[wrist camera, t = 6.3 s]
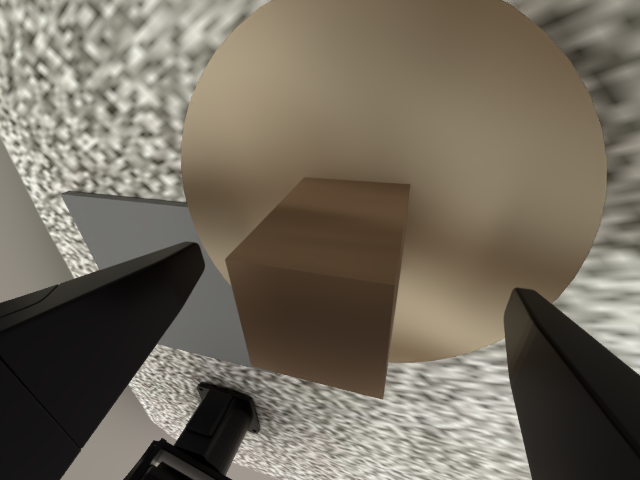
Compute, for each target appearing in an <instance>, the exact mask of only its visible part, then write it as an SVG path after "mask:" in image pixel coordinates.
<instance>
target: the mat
mask: <svg viewBox="0 0 640 480" xmlns="http://www.w3.org/2000/svg"><path fill="white" fill-rule="evenodd" d="M61 196H62V198H63V200H64V202H65V204H66V206H67V208H68V210H69V212H70V214H71V216H72V217H73V219H74V221H75V223H76V225H77V227H78V229H79V231H80V233H81V235H82V237H83V239H84V241H85V243H86V245H87V246H88V248H89V250H90V252H91V254H92V256H93V258H94V260H95V262H96V264H97V266H98V268H99V270H102V269H105V268H108V267H111V266H114V265H117V264H120V263H122V262H125V261H128V260H131V259H134V258H137V257H140V256H143V255H146V254H149V253H152V252H155V251H158V250H161V249H164V248H167V247H170V246H173V245H176V244H179V243H182V242H185V241H188V242H195V243H198V244H199V245H200V248H201V251H202V255H203V258H204V261H205V270H204V272H203V274H202V275H201V277H200V279H199V281H198V282H197V284H196V286H195V288H194V289H193V291H192V293H191V294H190V296H189V298H188V300H187V301H186V303H185V305H184V306H183V308H182V310H181V311H180V312H179V314H178V315H177V317H176V318H175V320H174V321H173V322H172V324H171V325H170V327H169V328H168V329H167V331H166V332H165V334H164V335H163V336H162V338H161V339H160V341H159V342H158V343H157V344H160V345H164V346H168V347H172V348H176V349H180V350H183V351H187V352H191V353H195V354H199V355H203V356H207V357H211V358H215V359H219V360H223V361H227V362H231V363H235V364H238V365H242V366H246V367H250V368H254V369H258V370H262V371H266V372H270V373H274V374H277V373H276V372H272V371H268V370H264V369H260V368H257V367H253V366H251V363H250V359H249V355H248V351H247V347H246V342H245V338H244V334H243V330H242V326H241V322H240V318H239V314H238V310H237V306H236V302H235V298H234V294H233V290H232V287H231V285H230V284H229V283H228V282H227V281H226V280H225V278H224V277H223V276H222V274H221V273H220V272H219V270H218V269H217V268H216V266H215V265H214V263H213V262H212V260H211V258H210V257H209V255H208V253H207V252H206V250H205V248H204V246H203V244H202V242H201V240H200V238H199V236H198V234H197V232H196V230H195V227H194V224H193V221H192V218H191V215H190V213H189V210H188V205H187V203H182V202H172V201H162V200H151V199H141V198H131V197H121V196H111V195H101V194H91V193H81V192H71V191H67V192H65V193H62V194H61Z"/></svg>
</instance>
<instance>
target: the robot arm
mask: <svg viewBox="0 0 640 480" xmlns="http://www.w3.org/2000/svg"><path fill="white" fill-rule="evenodd" d="M204 270H205V261H204V258H203V255H202V251H201V248H200V245H199V244H198V243H195V242H188V241H185V242H182V243H179V244H176V245H173V246H170V247H167V248H164V249H161V250H158V251H155V252H152V253H149V254H146V255H143V256H140V257H137V258H134V259H131V260H128V261H125V262H122V263H120V264H117V265H114V266H111V267H108V268H105V269H102V270H99V271H96V272H93V273H90V274H87V275H84V276H81V277H78V278H75V279H72V280H69V281H66V282H64V283H61V284H60V285H54V286H51V287H48V288H45V289H42V290H39V291H36V292H33V293H30V294H27V295H24V296H21V297H18V298H15V299H12V300H8V301H5V302H2V303H0V480H60V479H61V478H62V476H63V475H64V474H65V472H66V471H67V469H68V468H69V467H70V465H71V464H72V462H73V461H74V459H75V458H76V457H77V455H78V454H79V452H80V451H81V448H83V447H84V445H85V444H86V442H87V441H88V440H89V438H90V437H91V435H92V434H93V433H94V431H95V430H96V428H97V427H98V425H99V424H100V423H101V421H102V420H103V419H104V417H105V416H106V414H107V413H108V412H109V410H110V409H111V408H112V406H113V405H114V403H115V402H116V400H117V399H118V397H119V396H120V395H121V394H122V392H123V391H124V389H125V388H126V387H127V385H128V384H129V382H130V381H131V380H132V378H133V377H134V375H135V374H136V373H137V371H138V370H139V368H140V367H141V366H142V364H143V363H144V361H145V360H146V359H147V357H148V356H149V354H150V353H151V352H152V350H153V349H154V348H155V346H156V345H157V343H158V342H159V341H160V339H161V338H162V336H163V335H164V334H165V332H166V331H167V329H168V328H169V327H170V325H171V324H172V322H173V321H174V320H175V318H176V317H177V315H178V314H179V312H180V311H181V310H182V308H183V306H184V305H185V303H186V301H187V300H188V298H189V296H190V294H191V293H192V291H193V289H194V288H195V286H196V284H197V282H198V281H199V279H200V277H201V275H202V274H203V272H204ZM504 331H505V342H506V352H507V362H508V372H509V379H510V384H511V389H512V394H513V398H514V402H515V407H516V411H517V415H518V420H519V424H520V428H521V433H522V437H523V442H524V446H525V450H526V455H527V459H528V463H529V468H530V472H531V477H532V480H640V375H639V374H637V373H636V372H635V371H634V370H633V369H631V368H630V367H629V366H628V365H626V364H625V363H624V362H623V361H621V360H620V359H619V358H618V357H617V356H615V355H614V354H613V353H612V352H610V351H609V350H608V349H607V348H605V347H604V346H603V345H602V344H601V343H599V342H598V341H597V340H596V339H594V338H593V337H592V336H591V335H589V334H588V333H587V332H586V331H585V330H583V329H582V328H581V327H580V326H578V325H577V324H576V323H575V322H573V321H572V320H571V319H570V318H569V317H567V316H566V315H565V314H564V313H562V312H561V311H560V310H559V309H557V308H556V307H555V306H554V305H553V304H551V303H550V302H549V301H548V300H546V299H545V298H544V297H543V296H541V295H540V294H539V293H538V292H536V291H535V290H533V289H526V288H519V287H516V288H514V289H513V290H512V292H511V295H510V298H509V301H508V303H507V306H506V309H505V312H504ZM197 389H198V392H199V394H200V397H201V399H202V401H201V403H200V404H199V406H198V407H197V409H196V411H195V412H194V414H193V415H192V417H191V418H190V420H189V421H188V423H187V424H186V427H185V429H184V430H183V432H182V433H181V435H180V436H179V438H178V440H177V441H176V443H175V444H174V446H173V445H171V444H169V443H168V442H166V440H165V439H163V438H161V440H160V441H155V440H154V441H153V442H152V443H151V445H150V446H149V447H148V449H147V450H146V452H145V453H144V455H143V456H142V457H141V459H140V460H139V461H138V462H137V464H136V465H135V466H134V467H133V468H132V470H131V471H130V472H129V473H128V475H127V476H126V477H125V478H124V479H123V480H232V479H230V478H228V477H226V473H227V471H228V469H229V467H230V465H231V463H232V461H233V459H234V457H235V455H236V453H237V451H238V449H239V447H240V444H241V442H242V440H243V438H244V436H245V434H246V432H247V431H250V432H253V433H256V434H257V433H258V432H259V430H260V427H259V423H258V420H257V416H256V412H255V409H254V405H253V401H252V399H251V398H250V397H248V396H245V395H241V394H238V393H234V392H231V391H227V390H224V389H220V388H217V387H213V386H210V385H206V384H203V383H200V384H199V385H198V386H197ZM156 462H158V463H160V464H159V465H158V466H157V467H156V466H154V465H155V464H156Z"/></svg>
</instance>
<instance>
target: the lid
mask: <svg viewBox="0 0 640 480" xmlns="http://www.w3.org/2000/svg"><path fill="white" fill-rule="evenodd" d="M181 170H182V178H183V187H184V193H185V197H186V201H187V205H188V210H189V213H190V215H191V218H192V221H193V224H194V227H195V230H196V232H197V234H198V236H199V238H200V240H201V242H202V244H203V246H204V248H205V250H206V252H207V253H208V255H209V257H210V258H211V260H212V262H213V263H214V265H215V266H216V268H217V269H218V270H219V272H220V273H221V274H222V276H223V277H224V278H225V280H226V281H227V282H228V283H229V284H230V285H231V287H232V290H233V294H234V298H235V302H236V306H237V310H238V314H239V318H240V322H241V326H242V330H243V334H244V338H245V342H246V347H247V351H248V355H249V359H250V363H251V366H253V367H257V368H260V369H264V370H268V371H272V372H276V373H280V374H284V375H288V376H292V377H296V378H300V379H304V380H308V381H312V382H316V383H320V384H324V385H328V386H331V387H335V388H339V389H343V390H347V391H351V392H355V393H359V394H363V395H367V396H371V397H375V398H379V399H383V395H384V388H385V381H386V374H387V367H388V362H394V363H413V362H424V361H434V360H440V359H445V358H451V357H456V356H459V355H462V354H466V353H469V352H473V351H476V350H479V349H481V348H484V347H486V346H488V345H491V344H493V343H496V342H498V341H500V340H502V339H504V338H505V331H504V312H505V309H506V306H507V303H508V301H509V298H510V295H511V292H512V290H513V289H514V288H516V287H519V288H526V289H533V290H535V291H536V292H538V293H539V294H540V295H541V296H543V297H544V298H545V299H546V300H548V301H549V302H550V303H551V304H552V303H553V302H554V301H555V300H556V299H557V298H558V297H559V296H560V295H561V294H562V292H563V291H564V290H565V289H566V287H567V286H568V285H569V284H570V282H571V281H572V280H573V279H574V278H575V276H576V274H577V273H578V271H579V269H580V268H581V266H582V264H583V262H584V261H585V259H586V257H587V256H588V254H589V252H590V249H591V247H592V244H593V242H594V239H595V237H596V234H597V232H598V229H599V226H600V223H601V218H602V213H603V208H604V203H605V199H606V188H607V158H606V151H605V145H604V138H603V132H602V127H601V124H600V121H599V119H598V116H597V113H596V110H595V107H594V105H593V102H592V99H591V96H590V93H589V92H588V90H587V88H586V87H585V85H584V83H583V82H582V80H581V78H580V76H579V75H578V73H577V71H576V70H575V68H574V66H573V65H572V63H571V61H570V60H569V59H568V58H567V56H566V55H565V54H564V53H563V52H562V51H561V50H560V48H559V47H558V46H557V45H556V44H555V43H554V42H553V40H552V39H551V38H550V37H549V36H548V35H547V34H546V32H545V31H544V30H542V29H541V28H540V27H539V26H537V25H536V24H535V23H533V22H532V21H531V20H530V19H528V18H527V17H526V16H525V15H523V14H522V13H521V12H520V11H518V10H517V9H516V8H515V7H513V6H512V5H510V4H508V3H506V2H504V1H502V0H272V1H270V2H268V3H267V4H265V5H263V6H262V7H260V8H259V9H258V10H256V11H255V12H254V13H253V14H252V15H250V16H249V17H248V18H247V19H246V20H245V21H243V22H242V23H241V24H240V25H239V26H237V27H236V28H235V29H234V30H233V32H232V33H231V34H230V35H229V36H228V37H227V39H226V40H225V41H224V42H223V43H222V44H221V46H220V47H219V48H218V49H217V50H216V52H215V53H214V55H213V56H212V58H211V60H210V61H209V63H208V65H207V66H206V68H205V69H204V71H203V73H202V74H201V76H200V79H199V81H198V83H197V86H196V88H195V90H194V93H193V95H192V97H191V100H190V104H189V108H188V111H187V115H186V119H185V122H184V130H183V137H182V145H181Z"/></svg>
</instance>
